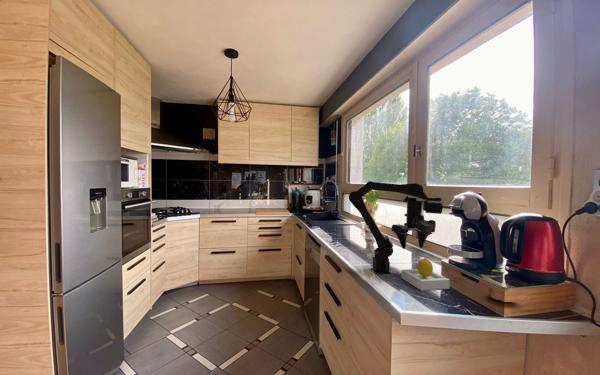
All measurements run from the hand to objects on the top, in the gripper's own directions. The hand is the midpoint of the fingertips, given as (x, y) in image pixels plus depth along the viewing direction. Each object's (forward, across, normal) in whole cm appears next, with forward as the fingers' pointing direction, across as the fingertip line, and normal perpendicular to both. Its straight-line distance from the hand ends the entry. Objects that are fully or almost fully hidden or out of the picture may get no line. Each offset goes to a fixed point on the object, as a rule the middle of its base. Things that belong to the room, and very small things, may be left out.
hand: (412, 248), depth 101 cm
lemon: (+10, -1, -8) cm, 13 cm away
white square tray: (+12, -1, -8) cm, 14 cm away
